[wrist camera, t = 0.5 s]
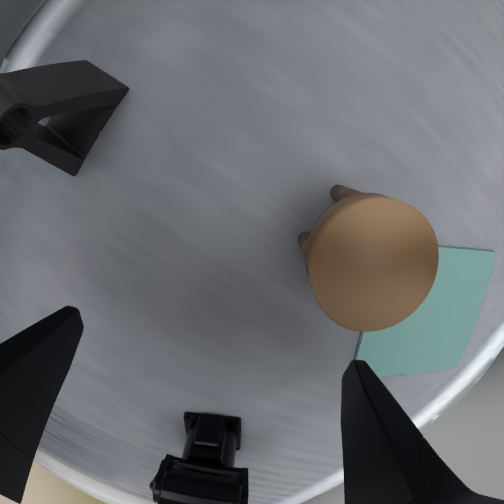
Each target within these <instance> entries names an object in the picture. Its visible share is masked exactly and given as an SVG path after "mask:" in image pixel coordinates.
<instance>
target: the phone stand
mask: <svg viewBox="0 0 504 504" xmlns="http://www.w3.org/2000/svg"><path fill="white" fill-rule="evenodd" d="M128 90H129V88H128V87H127V86H125V85H124V84H122V83H121V82H119V81H118V80H116V79H114V78H113V77H111V76H110V75H108V74H107V73H105V72H104V71H102V70H101V69H99V68H97V67H96V66H94V65H93V64H91V63H89V62H88V61H86V60H83V61H73V62H65V63H57V64H50V65H44V66H38V67H32V68H27V69H22V70H18V71H13V72H9V73H2V74H0V150H5V149H9V148H14V147H18V148H23V149H25V150H27V151H29V152H30V153H32V154H34V155H36V156H38V157H39V158H41V159H43V160H45V161H47V162H48V163H50V164H52V165H54V166H56V167H57V168H59V169H61V170H63V171H65V172H67V173H68V174H70V175H72V176H75V175H76V174H77V173H78V171H79V169H80V167H81V165H82V163H83V161H84V160H85V158H86V156H87V154H88V153H89V151H90V149H91V147H92V146H93V144H94V142H95V140H96V139H97V137H98V135H99V132H100V131H102V129H103V127H104V126H105V124H106V123H107V121H108V120H109V118H110V116H111V115H112V113H113V112H114V110H115V109H116V107H117V106H118V105H119V103H120V102H121V100H122V99H123V97H124V96H125V95H126V93H127V92H128ZM50 116H51V118H50V120H49V122H48V124H47V125H46V126H42V125H41V124H39V123H38V122H39V121H40V120H41V119H43V118H46V117H50Z"/></svg>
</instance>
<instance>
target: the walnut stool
mask: <svg viewBox="0 0 504 504" xmlns="http://www.w3.org/2000/svg"><path fill="white" fill-rule="evenodd" d="M331 196H332V198H333V199H335V200H337V202H336V203H334V204H333V205H332V206H330V207H329V208H328V209H327V210H326V211H325V212H324V213H323V214H322V215H321V216H320V218H319V219H318V220H317V222H316V223H315V225H314V226H313V228H312V230H311V233H308V232H304V233H302V234H300V236H299V238H298V242H299V245H300V247H301V250H302V252H303V255H304V257H305V263H306V270H307V274H308V277H309V280H310V283H311V286H312V288H313V291H314V294H315V297H316V299H317V302H318V304H319V305H320V307H321V309H322V310H323V311H324V313H325V314H326V315H327V316H328V317H329V318H330V319H331V320H332V321H334V322H335V323H337V324H338V325H340V326H342V327H344V328H347V329H350V330H354V331H359V332H372V331H379V330H383V329H386V328H389V327H392V326H394V325H396V324H398V323H400V322H401V321H403V320H405V319H406V318H407V317H409V316H410V315H411V314H412V313H413V312H415V311H416V310H417V309H418V307H419V306H420V305H421V304H422V303H423V301H424V300H425V298H426V297H427V296H428V294H429V292H430V290H431V288H432V286H433V283H434V281H435V278H436V274H437V270H438V263H439V250H438V244H437V239H436V236H435V233H434V231H433V229H432V227H431V225H430V223H429V222H428V220H427V219H426V218H425V217H424V216H423V215H422V213H421V212H419V211H418V210H417V209H416V208H414V207H412V206H411V205H409V204H407V203H404V202H401V201H399V200H396V199H393V198H390V197H387V196H384V195H381V194H375V193H362V192H359V191H356V190H353V189H350V188H347V187H344V186H341V185H335V186H334V187H333V188H332V189H331Z"/></svg>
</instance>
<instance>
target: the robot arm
mask: <svg viewBox="0 0 504 504" xmlns="http://www.w3.org/2000/svg"><path fill="white" fill-rule="evenodd" d="M83 328H84V327H83V322H82V319H81V315H80V312H79V310H78V309H77V308H75V307H72V306H65V307H63V308H62V309H60V310H58V311H56V312H54V313H53V314H51V315H49V316H47V317H46V318H44V319H42V320H40V321H39V322H37V323H35V324H33V325H32V326H30V327H28V328H26V329H25V330H23V331H21V332H19V333H18V334H16V335H14V336H13V337H11V338H9V339H7V340H6V341H4V342H2V343H1V344H0V494H1V495H3V496H5V497H7V498H9V499H11V500H13V501H15V502H17V503H19V504H20V503H21V501H22V497H23V493H24V490H25V486H26V483H27V479H28V476H29V472H30V469H31V466H32V463H33V460H34V457H35V454H36V451H37V448H38V445H39V442H40V439H41V436H42V434H43V431H44V428H45V426H46V423H47V420H48V418H49V415H50V413H51V410H52V408H53V406H54V403H55V401H56V398H57V396H58V394H59V391H60V389H61V387H62V385H63V382H64V380H65V378H66V376H67V373H68V371H69V369H70V366H71V364H72V361H73V358H74V355H75V352H76V349H77V347H78V344H79V341H80V338H81V336H82V333H83ZM184 422H185V428H186V433H187V439H186V443H185V447H184V451H183V455H182V458H179V457H174V456H172V455H169V454H167V455H166V457H165V459H163V460H162V461H161V464H160V467H159V470H158V472H157V474H156V476H155V477H154V479H153V480H152V482H151V483H150V489H151V490H152V491H153V501H154V502H156V503H158V504H248V468H236V467H234V461H235V452H236V450H240V441H241V419H239V418H234V417H222V416H212V415H204V414H195V413H187V412H186V413H185V414H184ZM341 433H342V448H343V466H344V494H345V504H504V500H501V499H496V498H492V497H488V496H484V495H480V494H477V493H475V492H473V491H472V490H470V489H469V488H468V487H467V486H465V484H464V483H463V482H462V481H461V480H460V479H459V478H458V477H457V476H456V475H455V474H454V473H453V471H452V470H451V469H450V468H449V467H448V466H447V465H446V464H445V463H444V462H443V460H442V459H441V458H440V457H439V456H438V455H437V453H436V452H435V451H434V449H433V448H432V447H431V446H430V444H429V443H428V442H427V440H426V439H425V438H423V435H422V434H421V432H420V431H419V430H418V428H417V427H416V426H415V424H414V423H413V422H412V421H411V419H410V418H409V417H408V415H407V414H406V413H405V411H404V410H403V409H402V407H401V406H400V405H399V403H398V402H397V401H396V400H395V398H394V397H393V396H392V394H391V393H390V392H389V390H388V389H387V388H386V387H385V385H384V384H383V383H382V381H381V380H380V379H379V378H378V376H377V375H376V374H375V372H374V371H373V370H372V369H371V367H370V366H369V365H368V363H367V362H366V361H364V360H352V361H351V362H350V364H349V366H348V368H347V369H346V371H345V373H344V374H343V377H342V398H341Z"/></svg>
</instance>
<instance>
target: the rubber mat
mask: <svg viewBox="0 0 504 504" xmlns="http://www.w3.org/2000/svg"><path fill="white" fill-rule="evenodd" d="M438 250H439V263H438V270H437V274H436V278H435V281H434V283H433V286H432V288H431V290H430V292H429V294H428V296H427V297H426V298H425V300H424V301H423V303H422V304H421V305H420V306H419V307H418V309H417V310H416V311H415V312H413V313H412V314H411V315H410V316H409V317H407V318H406V319H405V320H403V321H401V322H400V323H398V324H396V325H394V326H392V327H389V328H386V329H383V330H379V331H372V332H361V335H360V339H359V342H358V346H357V350H356V354H355V357H354V360H364V361H366V362H367V363H368V365H369V366H370V367H371V369H372V370H373V371H374V372H375V374H376V375H377V376H378V377H385V376H396V375H405V374H414V373H422V372H429V371H436V370H443V369H449V368H455V367H457V366H458V364H459V362H460V359H461V357H462V355H463V353H464V350H465V348H466V345H467V343H468V340H469V338H470V335H471V333H472V330H473V327H474V325H475V322H476V319H477V316H478V313H479V310H480V307H481V304H482V301H483V298H484V295H485V291H486V288H487V285H488V281H489V277H490V274H491V270H492V266H493V261H494V257H495V253H496V252H495V251H493V250H483V249H473V248H462V247H450V246H438Z"/></svg>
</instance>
